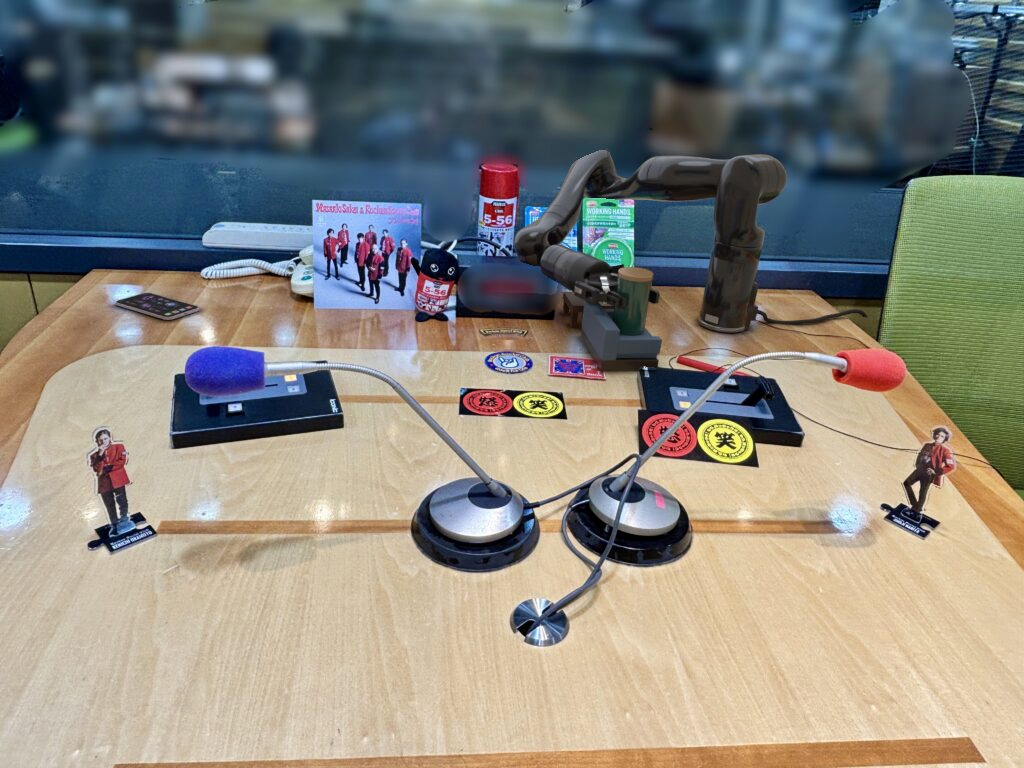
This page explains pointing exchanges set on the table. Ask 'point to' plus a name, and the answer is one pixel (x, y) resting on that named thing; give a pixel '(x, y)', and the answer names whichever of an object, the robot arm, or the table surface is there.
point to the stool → (576, 306)
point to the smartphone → (157, 306)
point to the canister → (633, 300)
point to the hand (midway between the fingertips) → (641, 301)
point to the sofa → (616, 342)
